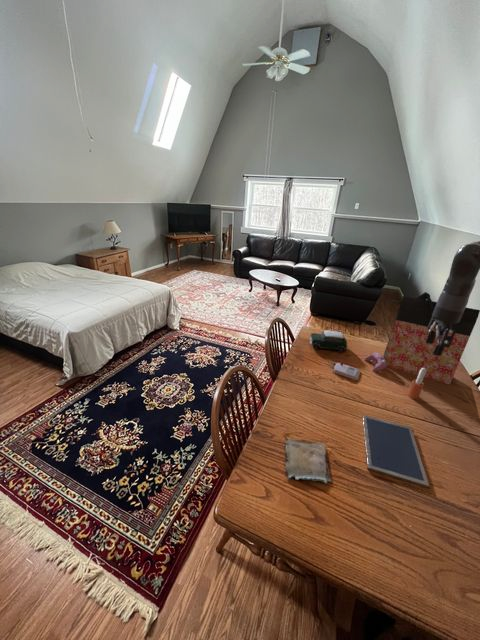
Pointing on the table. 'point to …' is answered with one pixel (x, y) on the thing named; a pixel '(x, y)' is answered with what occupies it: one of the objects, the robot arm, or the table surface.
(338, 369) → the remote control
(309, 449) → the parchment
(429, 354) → the gift bag
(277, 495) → the table surface
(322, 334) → the miniature car
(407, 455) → the tablet
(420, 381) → the stylus
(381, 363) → the video game controller
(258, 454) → the table surface
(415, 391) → the pen cup
